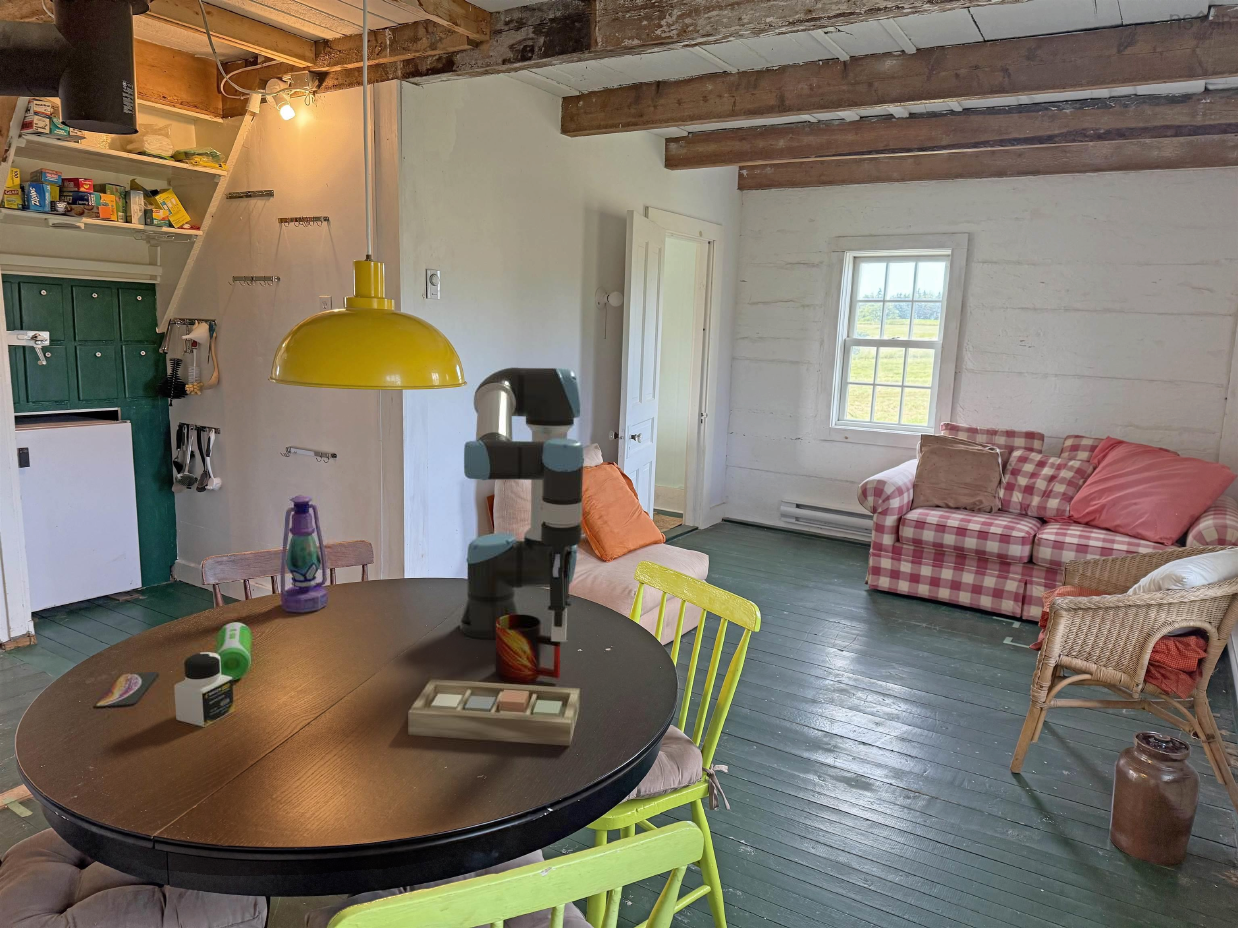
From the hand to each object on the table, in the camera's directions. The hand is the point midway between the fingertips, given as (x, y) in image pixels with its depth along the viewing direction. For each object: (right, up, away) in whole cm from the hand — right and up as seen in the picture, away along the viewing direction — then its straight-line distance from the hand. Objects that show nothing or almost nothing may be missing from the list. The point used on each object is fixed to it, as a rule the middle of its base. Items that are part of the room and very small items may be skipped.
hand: (558, 639), depth 157 cm
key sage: (-2, -14, -2) cm, 14 cm away
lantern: (-71, -4, +56) cm, 90 cm away
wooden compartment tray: (-12, -15, -1) cm, 19 cm away
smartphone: (-87, -12, +7) cm, 88 cm away
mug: (-8, -12, +20) cm, 25 cm away
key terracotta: (-8, -12, -2) cm, 15 cm away
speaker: (-72, -10, +19) cm, 75 cm away
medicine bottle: (-67, -14, -3) cm, 68 cm away
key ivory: (-21, -13, -1) cm, 25 cm away
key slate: (-15, -14, -1) cm, 20 cm away
